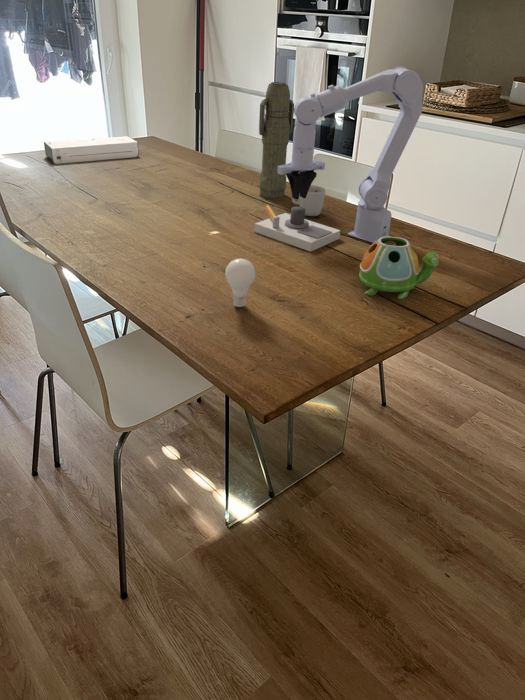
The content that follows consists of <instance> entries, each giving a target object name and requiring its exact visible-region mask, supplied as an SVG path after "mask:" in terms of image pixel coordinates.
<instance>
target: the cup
mask: <svg viewBox="0 0 525 700" xmlns="http://www.w3.org/2000/svg"><path fill="white" fill-rule="evenodd" d="M325 197H326V189H325V187H322V186H318V185H312V184H311V186H310V188H309V190H308V193H307V196H306V198H302V197H300V193H299V199H298V200H296V199H294V198H292V197H291V201H292V203H293V204H294V205H297V206H298V207H303V208H305V217H317V216H319V215H321V213H322V210H323V205H324V201H325Z"/></svg>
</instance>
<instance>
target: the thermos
mask: <svg viewBox="0 0 525 700" xmlns="http://www.w3.org/2000/svg"><path fill="white" fill-rule="evenodd" d="M294 108H295V103H294V100H293V99H291V93H290V88H289V85H288V84H287V83H286V82H281V81H280V82H279V81H272V82H271V83H269V84H268V86H267V89H266V92H265V98H264V99H262V100H261V102H260V104H259V120H258V121H259V123H258V135H260V136H261V142H262V160H261V162H262V163H261V171H260V174H259V197H261V198H262V199H266V200H282V199H284V198H285V196H286V195H285V194H286V193H285V192H286V189H287V176H286V174H284V175H280V174H278V173H277V171H278V166H281V165H285V164H287V151H288V150H287V149H288V145H289V141H290V134H291V133H292V132H293V130H294V128H293V126H294V115H295V113H294Z"/></svg>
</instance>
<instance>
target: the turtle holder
mask: <svg viewBox="0 0 525 700" xmlns="http://www.w3.org/2000/svg"><path fill="white" fill-rule="evenodd" d="M388 242H393V244H386V243H388ZM410 244H411V243H410V242H409V240H408V239H406V238H403V237H398V236H389V237H387V236H386V237H381V238H379V239H378V240H377V241H376V242H374V243H372V244H371V245H370V246H369V247H368V249H367V250H366V251H365V253H364V255H363V256H362V257H363V258H362V260H361V262H360V263H359V273H358V277H359V280H360V282H361V283H362V284H363V285H365V286H366V287H368V288H369V289H367V290H365V292H364V294H365V295H367V296H376V295H377V293H378V292H379V291H381V292H388V293H399V294H397V296H396V297H397V299H398V300H405V299H406V298H407V297H408V295H409V293H410V291H411V290H413V289H414V288H415V287H416V285H420V284H421V285H422V284H423V283H425V282H426V281H427V280H428V279H430V277H431V275H432V274H433V272H434V269H436V268H437V267H438V266H439V265H440V261H439V260H440V259H439V254H438V252H432V251H429V252H428V253H426V254H425V255H424V256H423V257H422V260H421V261H422V266H421V269H420V271H419V267H420V266H419V258H418V256H417V253H416V250H414V248H413V247H412V245H410Z"/></svg>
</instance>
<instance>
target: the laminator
mask: <svg viewBox="0 0 525 700" xmlns="http://www.w3.org/2000/svg"><path fill="white" fill-rule="evenodd" d="M43 146H44V152H45V156H46V157H47V158H48V159H49V160H50V161H51V162H53V163H52V164H54V165H59V164H70V163H80V162H92V161H93V162H94V161H105V160H107V161H108V160H116V159H117V160H118V159H128V158H138V157H139V153H140V152H139V142H138V141H137V140H135V138H132V137H131V136H113V137H99V138H85V139H71V140H56V141H55V140H54V141H53V140H52V141H44V142H43Z"/></svg>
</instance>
